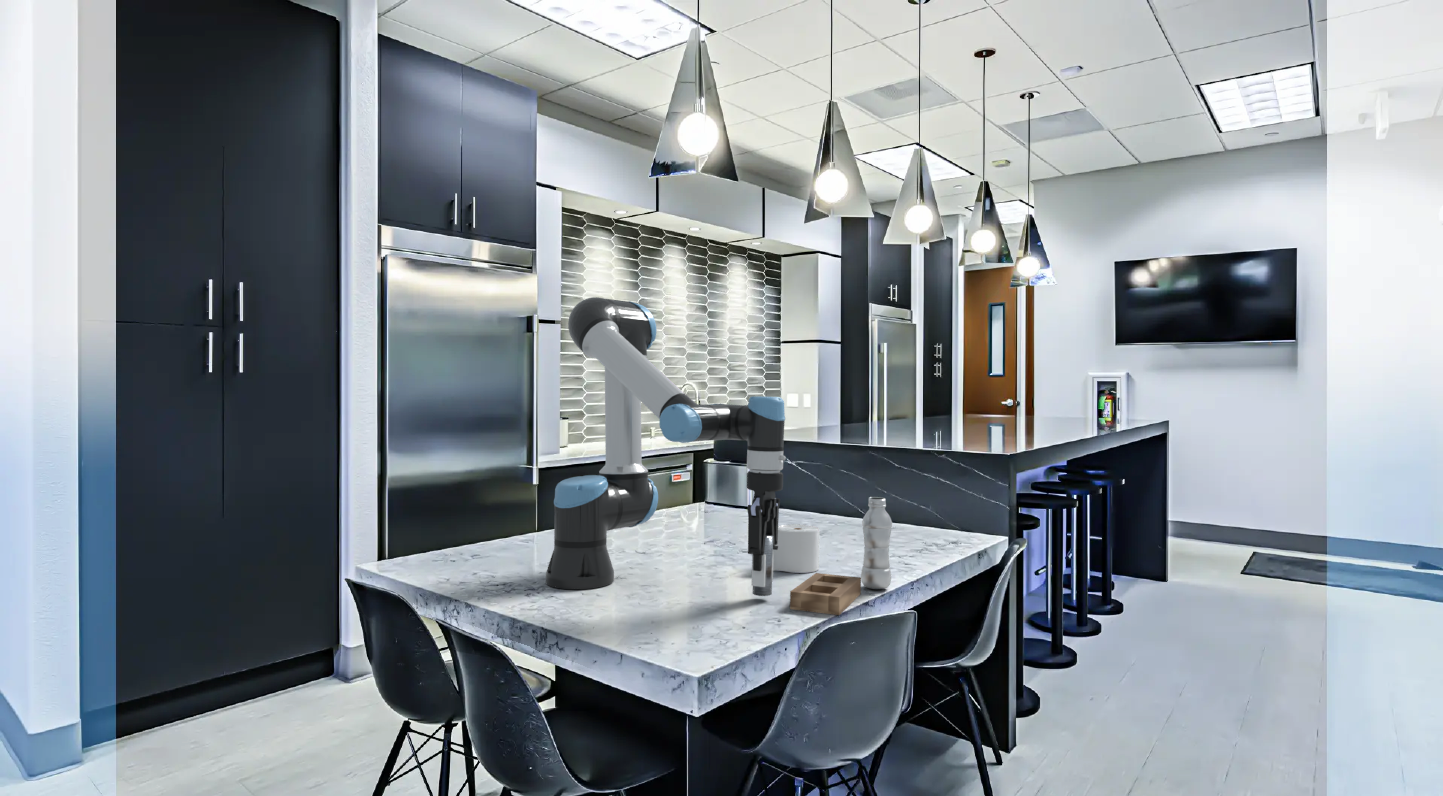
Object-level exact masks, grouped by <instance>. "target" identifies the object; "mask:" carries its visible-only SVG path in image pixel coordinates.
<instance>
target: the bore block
mask: <svg viewBox="0 0 1443 796" xmlns="http://www.w3.org/2000/svg"><path fill="white" fill-rule="evenodd" d="M861 592H862V581H861V576H860V577H858V576H849V575H840V574H839V575H838V574H829V573H821V572H815V573H814V574H813V575H811V576H810V577H809V578H806V580H804V581H803V582H801V583H800V584H798V585H797V586H796V587H795V588H793V589H792V590H791V591H790V593H789V598H790V599H789V610H793V611H794V610H795V611H803V612H811V613H817V614H825V615H826V614H827V615H833V616H840V615H842V613H843V612H844V611H845V610H846V609H848V607H849V606H850V605H851V604H852V603H853V602H854V601H855V600H856V599H857V598H858V597H860V595H862V593H861Z"/></svg>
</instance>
